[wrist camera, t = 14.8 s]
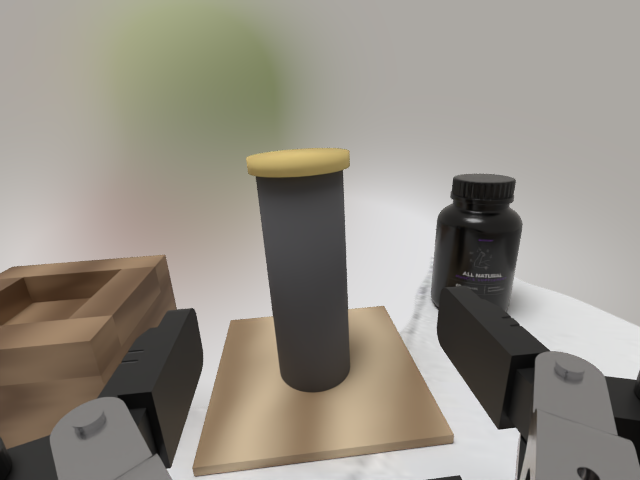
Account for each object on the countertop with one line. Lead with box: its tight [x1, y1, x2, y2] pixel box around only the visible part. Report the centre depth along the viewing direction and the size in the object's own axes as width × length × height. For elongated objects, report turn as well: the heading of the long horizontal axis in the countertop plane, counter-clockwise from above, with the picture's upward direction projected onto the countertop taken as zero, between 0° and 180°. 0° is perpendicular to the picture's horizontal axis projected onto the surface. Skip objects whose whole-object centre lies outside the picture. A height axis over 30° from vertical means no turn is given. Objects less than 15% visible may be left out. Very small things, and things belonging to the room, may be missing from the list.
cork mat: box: [193, 306, 454, 476], centre depth 25 cm, size 14×14×1 cm
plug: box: [246, 148, 350, 392], centre depth 22 cm, size 6×6×15 cm
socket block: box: [0, 255, 177, 449], centre depth 22 cm, size 11×11×8 cm
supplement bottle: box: [431, 174, 522, 312], centre depth 31 cm, size 7×7×12 cm
